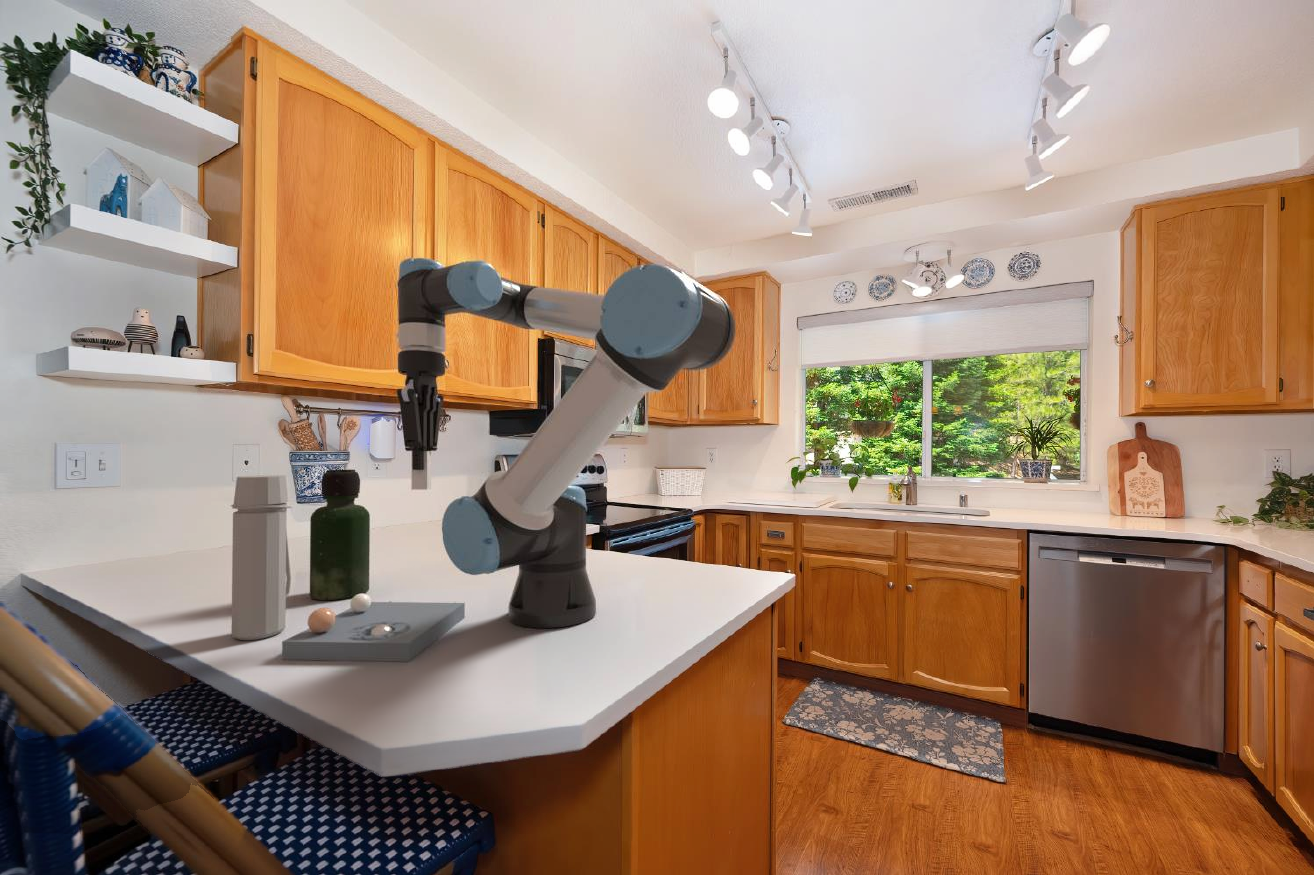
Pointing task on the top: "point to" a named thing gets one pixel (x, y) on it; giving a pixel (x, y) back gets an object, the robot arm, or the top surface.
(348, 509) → the green bottle
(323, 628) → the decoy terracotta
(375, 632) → the steel ball
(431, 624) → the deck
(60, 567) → the top surface
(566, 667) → the top surface
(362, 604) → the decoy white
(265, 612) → the water bottle
